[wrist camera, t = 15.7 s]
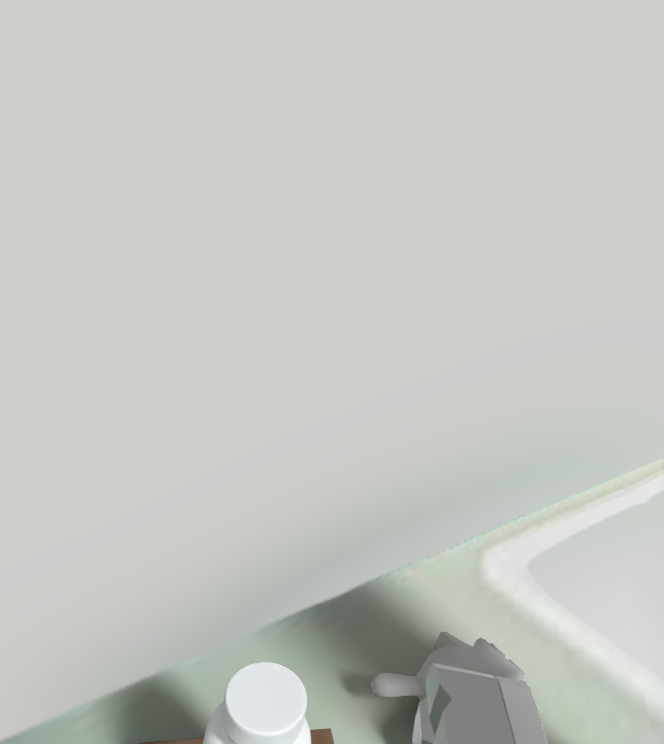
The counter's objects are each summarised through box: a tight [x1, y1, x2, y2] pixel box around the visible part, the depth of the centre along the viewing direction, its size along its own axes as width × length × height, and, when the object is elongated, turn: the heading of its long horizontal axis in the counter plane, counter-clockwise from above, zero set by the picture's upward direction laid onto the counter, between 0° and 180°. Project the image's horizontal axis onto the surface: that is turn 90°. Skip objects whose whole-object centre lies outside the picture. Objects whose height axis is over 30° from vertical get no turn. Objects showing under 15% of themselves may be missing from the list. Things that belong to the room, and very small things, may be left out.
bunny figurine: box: [370, 632, 524, 702], centre depth 46 cm, size 10×5×15 cm
